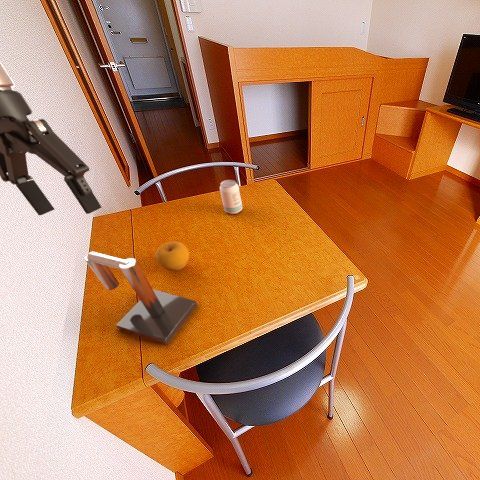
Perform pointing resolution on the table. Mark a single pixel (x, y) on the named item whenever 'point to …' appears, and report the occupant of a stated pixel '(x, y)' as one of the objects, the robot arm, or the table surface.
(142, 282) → the spout
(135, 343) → the table surface
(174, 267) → the apple
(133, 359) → the table surface
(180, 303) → the tap base
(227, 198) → the beverage can
